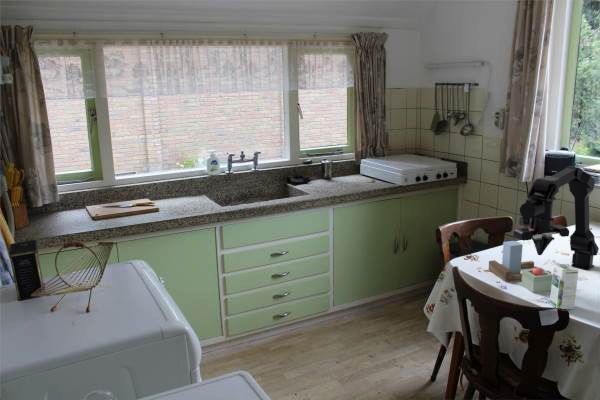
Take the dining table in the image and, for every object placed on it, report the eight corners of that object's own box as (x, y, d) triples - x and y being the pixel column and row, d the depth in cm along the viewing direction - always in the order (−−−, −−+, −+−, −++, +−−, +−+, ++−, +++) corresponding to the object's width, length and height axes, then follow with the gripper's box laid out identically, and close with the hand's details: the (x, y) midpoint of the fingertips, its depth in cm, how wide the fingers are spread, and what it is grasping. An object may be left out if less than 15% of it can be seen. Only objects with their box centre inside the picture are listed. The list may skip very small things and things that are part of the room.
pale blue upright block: (512, 271, 207) (515, 240, 204) (520, 276, 202) (522, 244, 199) (501, 272, 206) (503, 241, 203) (508, 277, 201) (510, 245, 198)
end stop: (494, 269, 209) (494, 260, 208) (511, 281, 198) (511, 271, 197) (488, 270, 209) (489, 260, 208) (505, 281, 197) (505, 272, 196)
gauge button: (538, 274, 192) (539, 267, 191) (545, 278, 188) (545, 270, 188) (530, 275, 191) (530, 268, 191) (536, 279, 188) (536, 271, 187)
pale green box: (540, 283, 195) (541, 268, 193) (552, 290, 188) (553, 275, 187) (521, 285, 194) (522, 270, 192) (532, 292, 187) (533, 277, 185)
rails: (531, 265, 212) (532, 261, 211) (550, 276, 200) (551, 271, 200) (494, 269, 209) (494, 265, 209) (511, 281, 198) (511, 276, 197)
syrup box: (548, 303, 178) (552, 264, 175) (565, 302, 179) (569, 263, 175) (558, 311, 173) (562, 270, 169) (574, 309, 173) (579, 269, 170)
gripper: (551, 206, 193) (548, 245, 197) (506, 210, 190) (503, 250, 194) (572, 213, 183) (568, 255, 186) (524, 218, 179) (521, 260, 183)
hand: (539, 254), depth 188 cm, fingers closed
